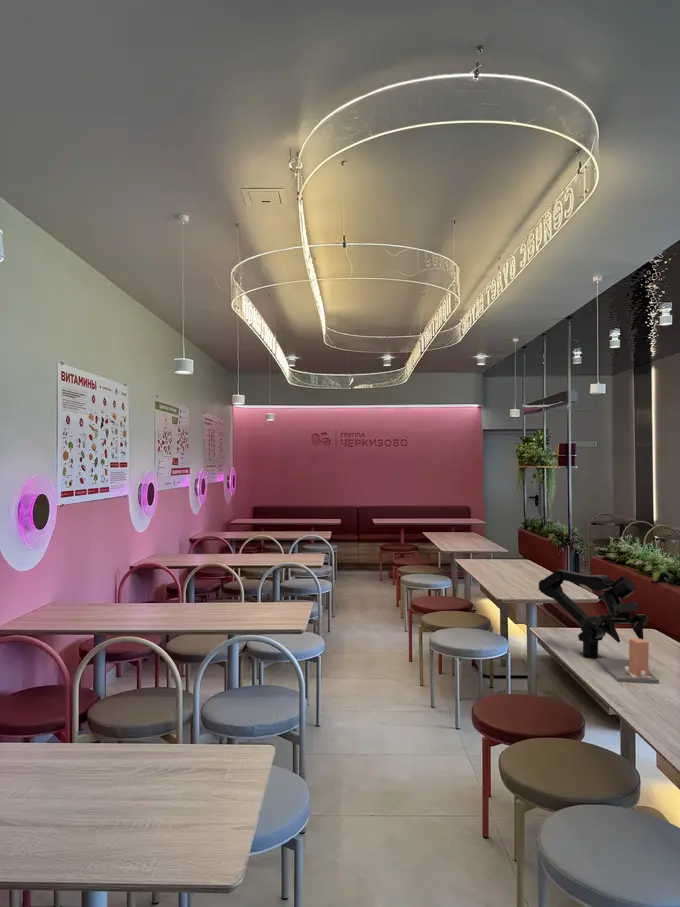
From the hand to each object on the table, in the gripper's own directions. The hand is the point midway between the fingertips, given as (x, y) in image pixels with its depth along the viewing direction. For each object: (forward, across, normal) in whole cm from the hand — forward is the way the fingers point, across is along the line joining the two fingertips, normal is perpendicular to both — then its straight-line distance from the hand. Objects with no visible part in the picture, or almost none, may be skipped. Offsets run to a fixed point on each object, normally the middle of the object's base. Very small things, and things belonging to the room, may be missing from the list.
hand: (631, 641), depth 222 cm
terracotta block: (+10, 0, +4) cm, 11 cm away
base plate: (+7, -1, +9) cm, 12 cm away
